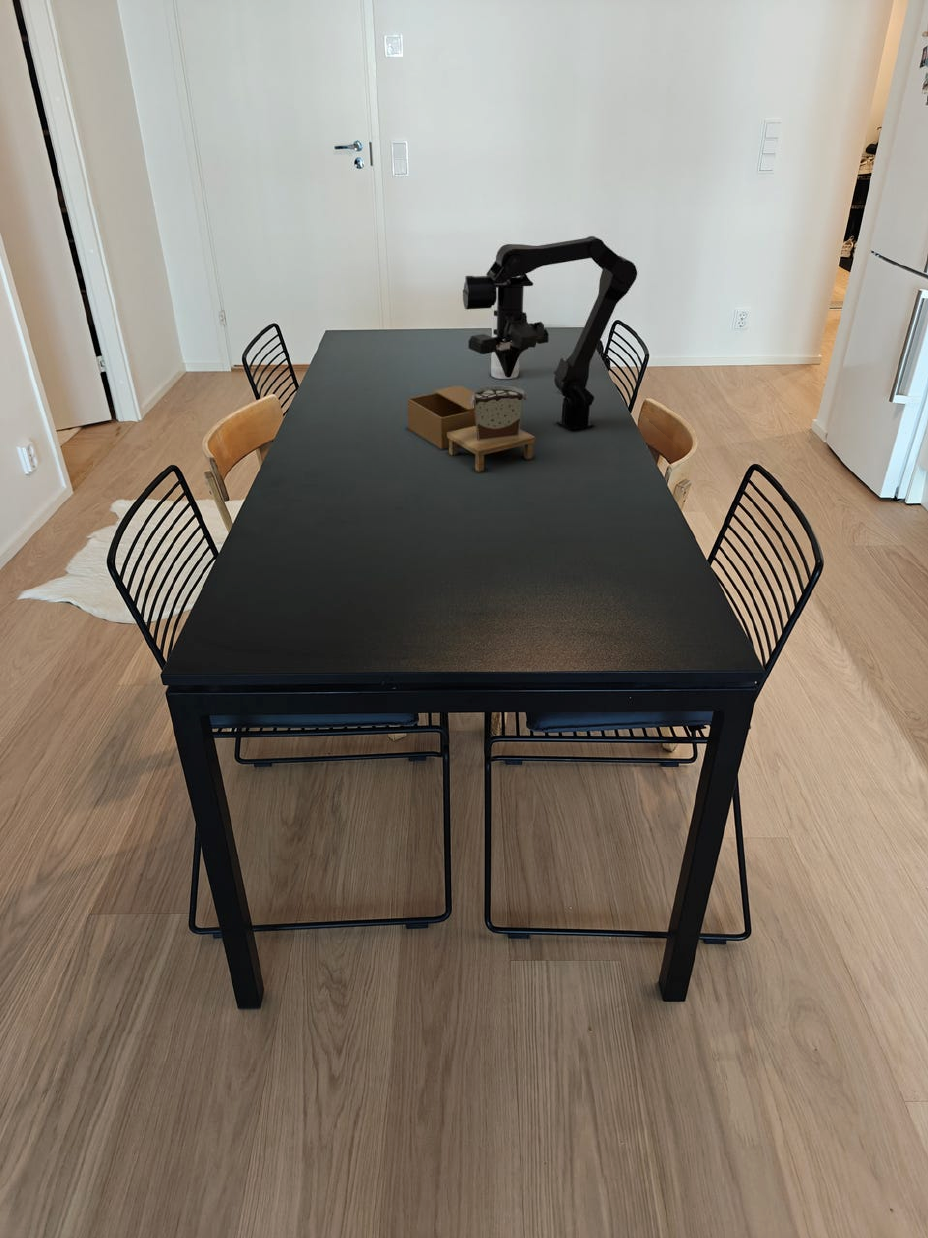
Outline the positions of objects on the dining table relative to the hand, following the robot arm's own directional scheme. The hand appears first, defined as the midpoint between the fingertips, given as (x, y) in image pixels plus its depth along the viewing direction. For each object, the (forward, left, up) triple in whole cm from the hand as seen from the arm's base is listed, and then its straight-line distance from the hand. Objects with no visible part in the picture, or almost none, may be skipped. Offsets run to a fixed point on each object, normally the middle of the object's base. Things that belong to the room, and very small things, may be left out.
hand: (508, 376), depth 194 cm
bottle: (+36, -24, -13) cm, 45 cm away
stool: (-11, +12, -13) cm, 21 cm away
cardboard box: (+6, +12, -13) cm, 19 cm away
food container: (-11, +11, -8) cm, 18 cm away
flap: (+6, +8, -5) cm, 12 cm away
